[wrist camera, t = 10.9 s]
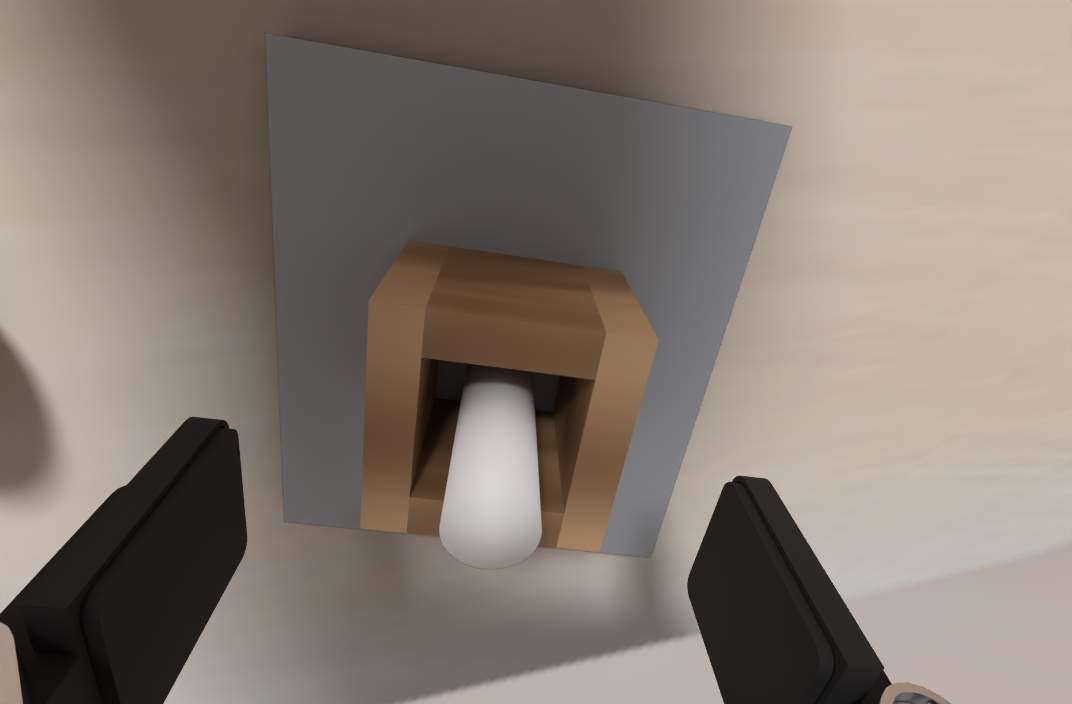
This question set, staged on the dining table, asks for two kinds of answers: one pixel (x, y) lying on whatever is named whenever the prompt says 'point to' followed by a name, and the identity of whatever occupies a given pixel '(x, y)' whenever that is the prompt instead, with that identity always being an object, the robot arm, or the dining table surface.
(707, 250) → the grey peg board
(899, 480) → the dining table surface
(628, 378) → the brown wooden hollow block
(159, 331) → the dining table surface
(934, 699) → the robot arm
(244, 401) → the dining table surface
